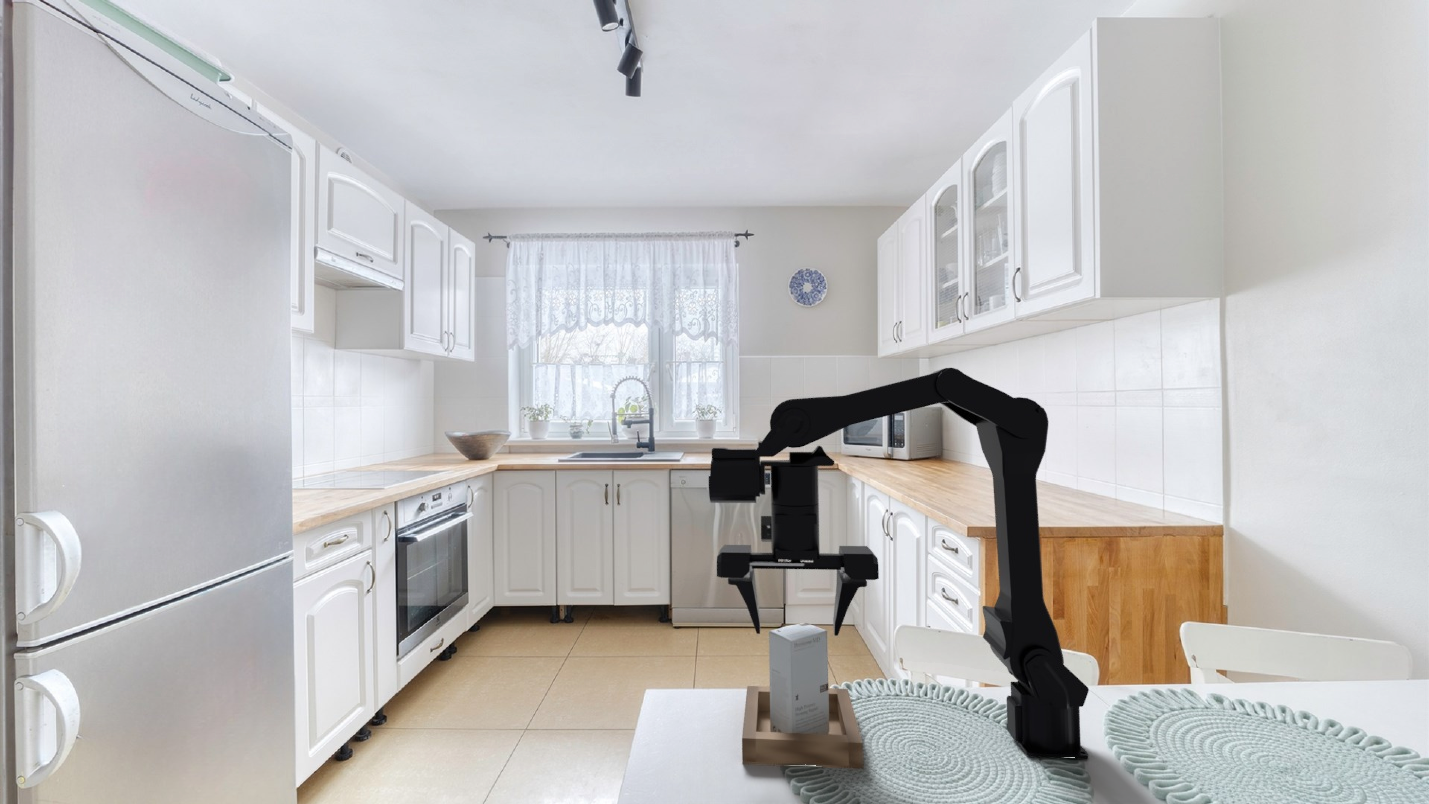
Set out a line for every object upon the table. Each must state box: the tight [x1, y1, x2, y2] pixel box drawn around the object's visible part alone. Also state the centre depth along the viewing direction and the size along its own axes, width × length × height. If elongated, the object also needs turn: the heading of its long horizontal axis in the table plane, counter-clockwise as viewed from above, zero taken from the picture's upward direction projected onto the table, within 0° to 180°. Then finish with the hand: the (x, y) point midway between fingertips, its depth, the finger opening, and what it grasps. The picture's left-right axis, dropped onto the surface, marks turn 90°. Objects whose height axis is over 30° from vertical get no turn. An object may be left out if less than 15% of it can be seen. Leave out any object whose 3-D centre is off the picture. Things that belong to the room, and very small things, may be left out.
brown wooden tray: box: [741, 685, 864, 770], centre depth 71 cm, size 13×13×3 cm
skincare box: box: [768, 622, 829, 734], centre depth 71 cm, size 6×4×12 cm
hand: (796, 633), depth 72 cm, fingers open, 9 cm apart
